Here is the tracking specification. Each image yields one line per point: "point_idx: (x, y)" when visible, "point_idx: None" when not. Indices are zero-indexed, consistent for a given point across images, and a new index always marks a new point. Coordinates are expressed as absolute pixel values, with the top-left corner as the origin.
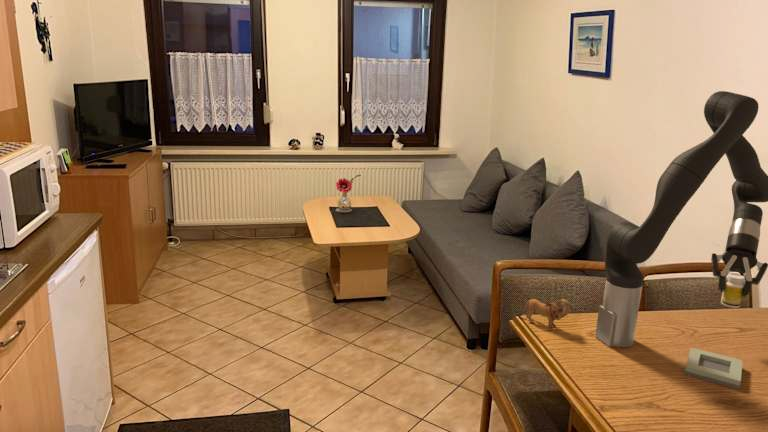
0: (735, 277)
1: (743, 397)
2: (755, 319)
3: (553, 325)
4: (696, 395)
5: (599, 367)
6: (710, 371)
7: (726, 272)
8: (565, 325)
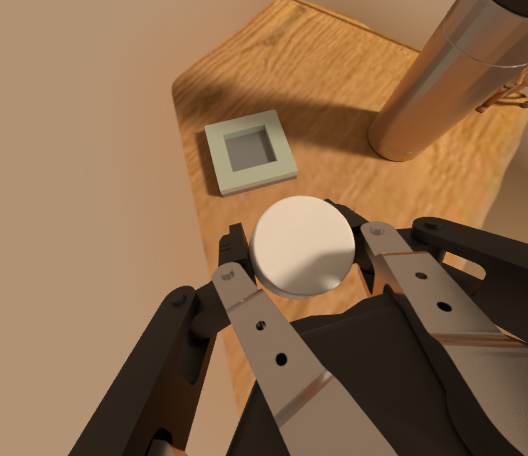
0: (295, 208)
1: (198, 122)
2: None
3: (479, 106)
4: (243, 87)
5: (354, 63)
6: (245, 121)
7: (373, 244)
8: (472, 124)
